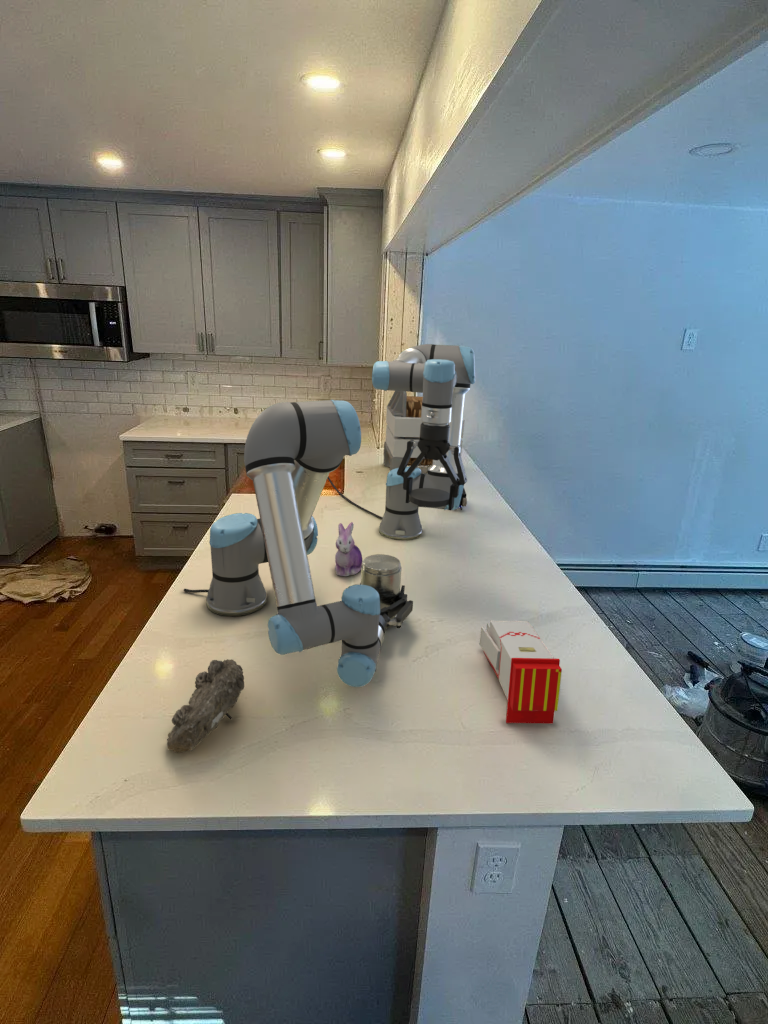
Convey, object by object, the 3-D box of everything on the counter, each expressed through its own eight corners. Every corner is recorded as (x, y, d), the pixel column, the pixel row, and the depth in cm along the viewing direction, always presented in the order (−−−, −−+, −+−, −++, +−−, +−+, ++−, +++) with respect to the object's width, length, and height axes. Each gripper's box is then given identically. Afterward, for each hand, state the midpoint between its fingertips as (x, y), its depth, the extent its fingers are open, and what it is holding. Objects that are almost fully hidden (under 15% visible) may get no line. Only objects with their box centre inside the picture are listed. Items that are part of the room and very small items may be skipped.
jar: (379, 605, 152) (381, 550, 146) (406, 619, 145) (410, 562, 140) (351, 617, 145) (353, 560, 139) (379, 633, 138) (381, 574, 133)
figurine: (340, 580, 164) (341, 532, 159) (327, 566, 172) (327, 519, 167) (369, 574, 168) (371, 527, 163) (355, 561, 177) (356, 515, 171)
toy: (526, 605, 135) (570, 665, 105) (521, 658, 137) (563, 730, 108) (475, 604, 134) (506, 664, 105) (472, 657, 137) (500, 729, 108)
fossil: (192, 660, 117) (244, 628, 112) (224, 691, 120) (276, 661, 115) (142, 746, 98) (202, 712, 93) (182, 779, 101) (242, 748, 96)
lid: (408, 506, 145) (409, 500, 144) (408, 492, 155) (408, 486, 155) (452, 508, 145) (453, 502, 144) (449, 494, 155) (449, 489, 155)
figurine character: (467, 515, 225) (461, 499, 238) (469, 498, 221) (463, 482, 235) (450, 514, 224) (445, 498, 238) (452, 497, 221) (447, 482, 234)
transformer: (382, 463, 289) (386, 382, 275) (445, 464, 293) (451, 384, 279) (390, 482, 257) (394, 392, 243) (460, 483, 261) (468, 394, 247)
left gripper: (318, 641, 129) (339, 596, 149) (417, 654, 126) (425, 605, 147) (318, 612, 126) (340, 570, 147) (419, 624, 123) (427, 579, 144)
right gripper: (386, 420, 143) (383, 502, 151) (478, 431, 136) (469, 516, 143) (396, 415, 150) (392, 494, 158) (484, 425, 142) (476, 507, 150)
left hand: (382, 587), depth 147 cm, fingers closed on jar, 10 cm apart
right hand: (429, 505), depth 150 cm, fingers closed on lid, 11 cm apart
